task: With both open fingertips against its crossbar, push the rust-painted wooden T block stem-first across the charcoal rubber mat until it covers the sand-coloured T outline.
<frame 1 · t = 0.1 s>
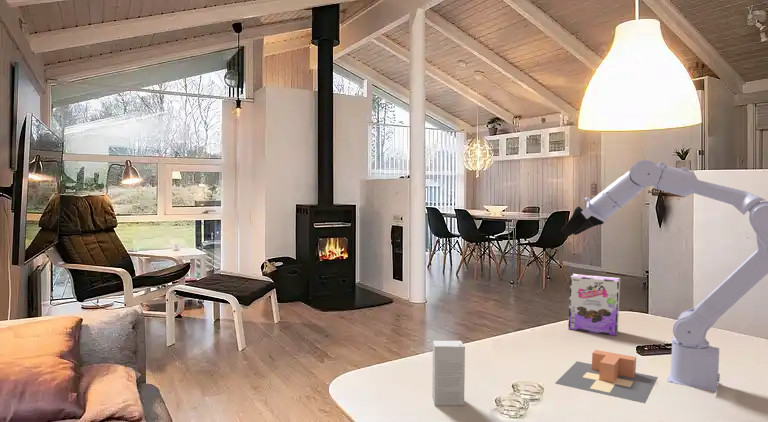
hand: (568, 232, 136), 32 cm above the table, tool tilted 50°, fingers open, 7 cm apart
skincare box: (447, 402, 109), on the table
rust T block: (612, 373, 125), point 1 cm above the table, touching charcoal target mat
candy box: (593, 331, 164), on the table
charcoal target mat: (607, 382, 121), on the table
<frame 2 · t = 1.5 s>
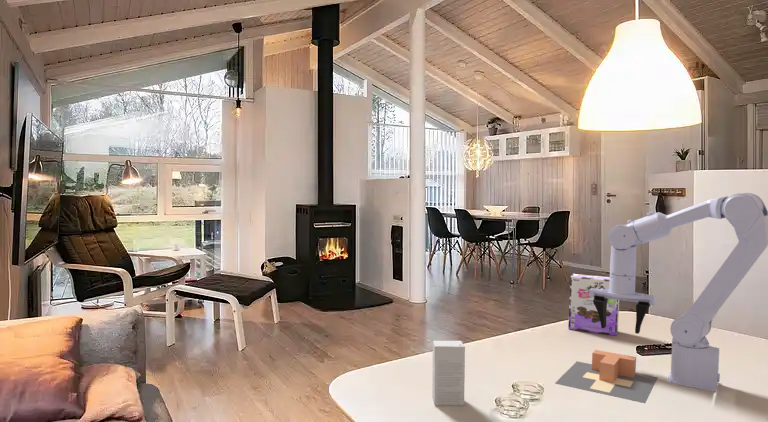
hand: (620, 329, 132), 9 cm above the table, tool pointing down, fingers open, 7 cm apart
nothing on the table moved.
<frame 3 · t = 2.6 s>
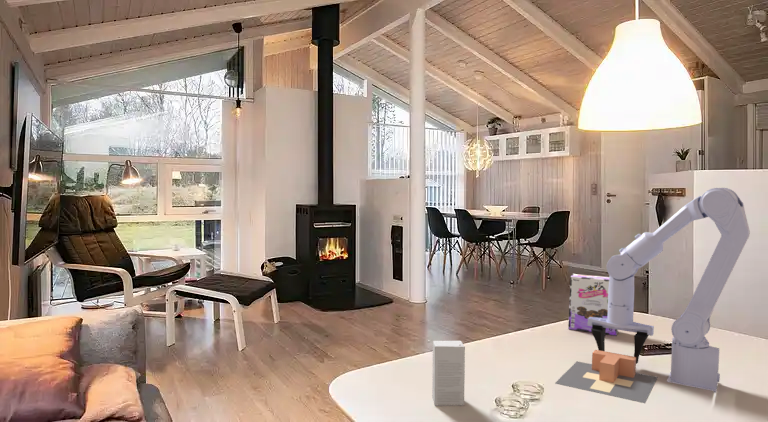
hand: (618, 359, 131), 2 cm above the table, tool pointing down, fingers open, 7 cm apart
nothing on the table moved.
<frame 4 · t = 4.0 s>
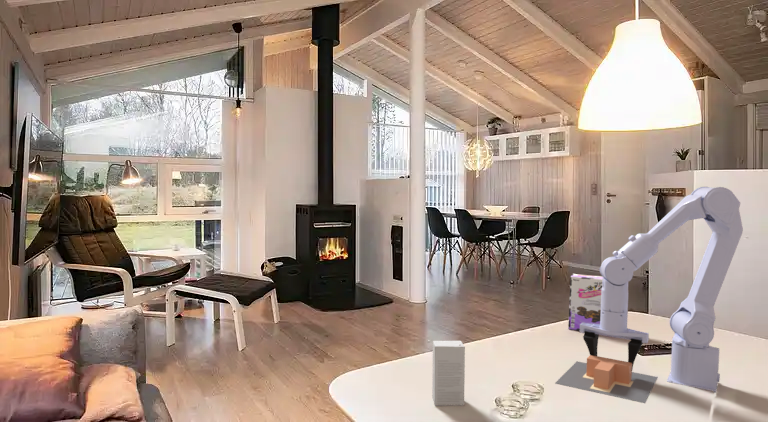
hand: (611, 367, 125), 2 cm above the table, tool pointing down
rust T block: (607, 379, 121), point 1 cm above the table, touching gripper
everything else where it was.
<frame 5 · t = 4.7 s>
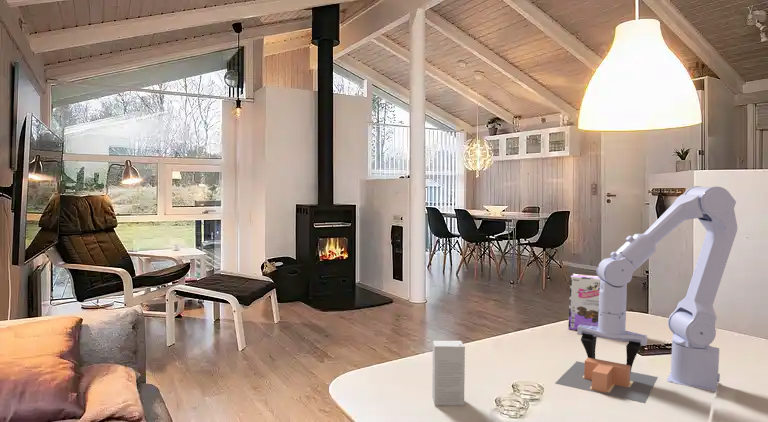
hand: (609, 370, 123), 2 cm above the table, tool pointing down
rust T block: (605, 382, 120), point 1 cm above the table, touching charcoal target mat, gripper
everything else where it was.
when the fingers open (2 cm above the table, at t = 5.2 s): rust T block stays where it is, resting on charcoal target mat.
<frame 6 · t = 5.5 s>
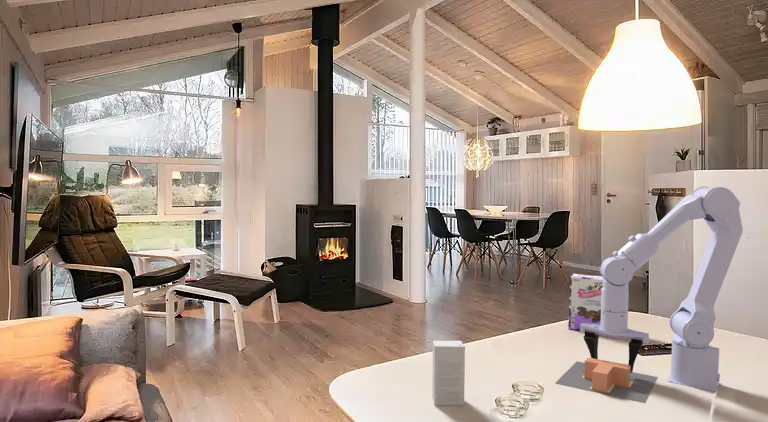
hand: (612, 368, 125), 2 cm above the table, tool pointing down, fingers open, 7 cm apart
rust T block: (605, 382, 120), point 1 cm above the table, touching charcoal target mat
everything else where it was.
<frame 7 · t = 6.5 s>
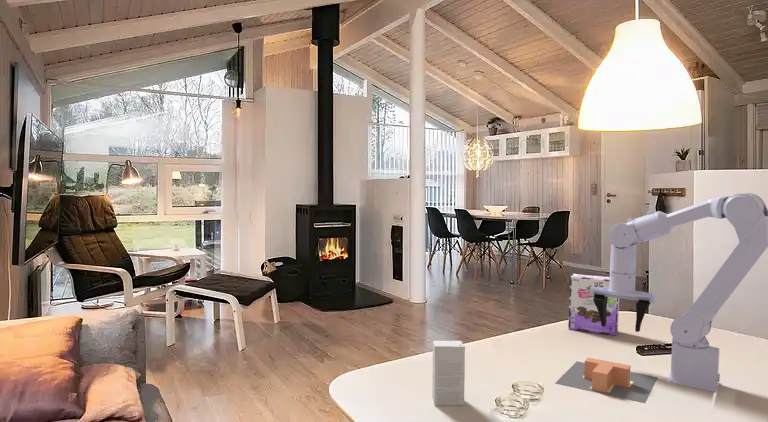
hand: (620, 328, 132), 9 cm above the table, tool pointing down, fingers open, 7 cm apart
nothing on the table moved.
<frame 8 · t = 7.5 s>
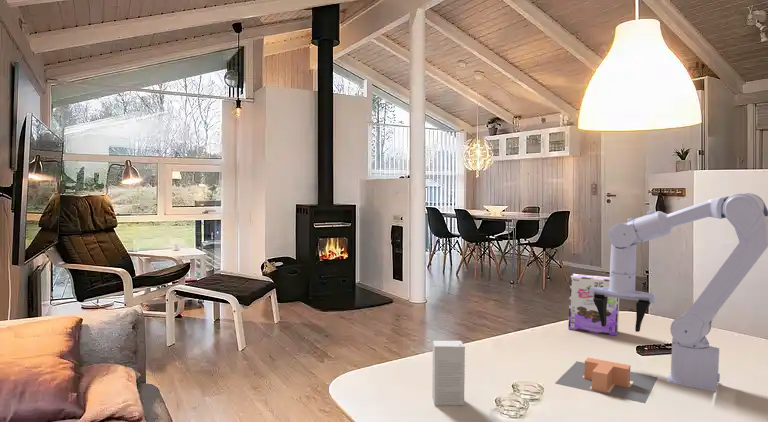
hand: (620, 328, 132), 9 cm above the table, tool pointing down, fingers open, 7 cm apart
nothing on the table moved.
at the end: rust T block 0.8 cm from the target spot, point 0.5 cm above the table; rust T block tilted 0° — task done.
